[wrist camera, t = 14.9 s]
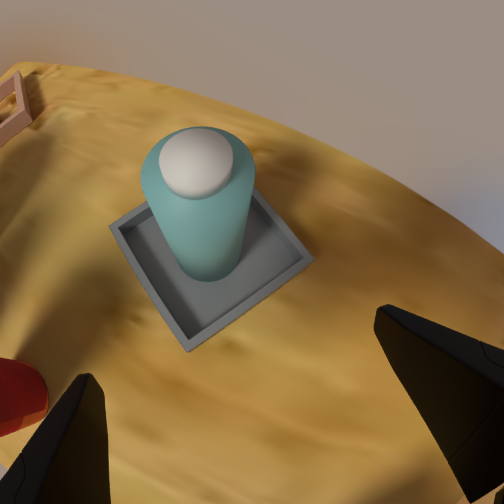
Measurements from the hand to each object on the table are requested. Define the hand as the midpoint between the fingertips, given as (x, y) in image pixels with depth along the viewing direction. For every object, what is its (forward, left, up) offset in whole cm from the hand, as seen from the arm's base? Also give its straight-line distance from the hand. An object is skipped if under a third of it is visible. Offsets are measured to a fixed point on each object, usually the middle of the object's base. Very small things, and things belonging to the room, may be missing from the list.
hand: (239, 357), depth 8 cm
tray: (+3, +7, -14) cm, 16 cm away
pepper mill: (+3, +7, -13) cm, 15 cm away
